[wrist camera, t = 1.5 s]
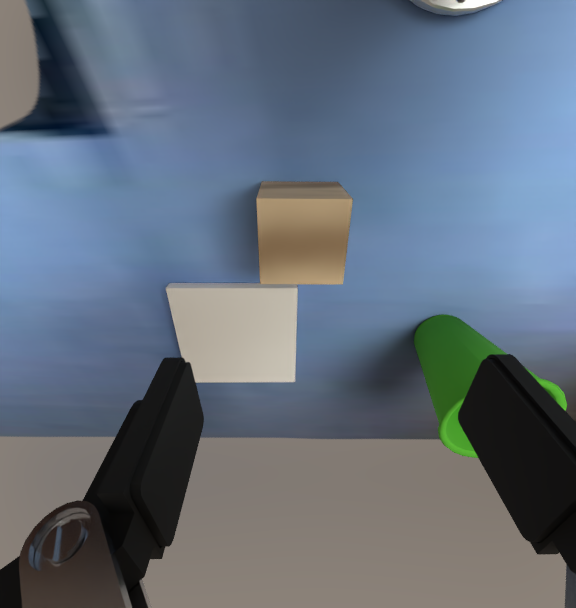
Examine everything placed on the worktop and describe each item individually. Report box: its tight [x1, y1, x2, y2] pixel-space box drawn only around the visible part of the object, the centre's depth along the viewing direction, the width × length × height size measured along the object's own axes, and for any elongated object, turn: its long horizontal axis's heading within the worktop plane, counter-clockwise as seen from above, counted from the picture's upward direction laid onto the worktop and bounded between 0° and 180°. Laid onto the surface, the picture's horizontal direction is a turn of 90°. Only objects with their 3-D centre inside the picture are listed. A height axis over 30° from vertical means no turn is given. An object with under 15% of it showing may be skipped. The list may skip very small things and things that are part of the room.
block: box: [256, 181, 353, 284], centre depth 23 cm, size 6×6×6 cm
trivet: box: [166, 283, 298, 382], centre depth 31 cm, size 12×12×1 cm
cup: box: [414, 315, 567, 458], centre depth 27 cm, size 9×9×11 cm
